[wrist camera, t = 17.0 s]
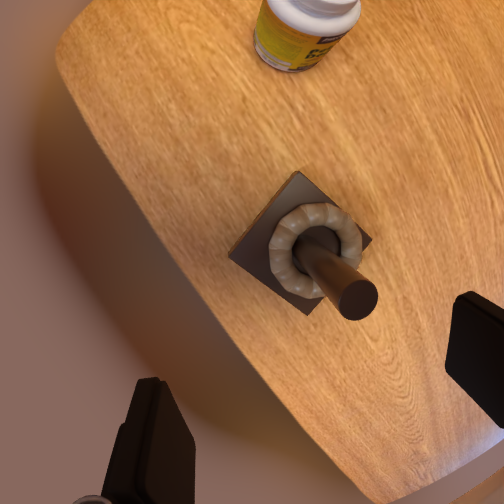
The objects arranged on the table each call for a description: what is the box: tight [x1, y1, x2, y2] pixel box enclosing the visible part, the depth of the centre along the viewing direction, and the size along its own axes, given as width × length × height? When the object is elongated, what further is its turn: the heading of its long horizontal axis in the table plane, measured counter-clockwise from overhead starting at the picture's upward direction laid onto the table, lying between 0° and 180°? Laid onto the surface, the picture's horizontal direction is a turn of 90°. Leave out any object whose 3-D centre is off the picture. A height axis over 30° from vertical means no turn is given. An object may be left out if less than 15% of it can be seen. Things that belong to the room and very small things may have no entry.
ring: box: [269, 203, 362, 299], centre depth 22 cm, size 7×7×2 cm
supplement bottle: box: [254, 0, 361, 72], centre depth 15 cm, size 6×6×10 cm
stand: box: [228, 171, 378, 321], centre depth 19 cm, size 8×8×11 cm
